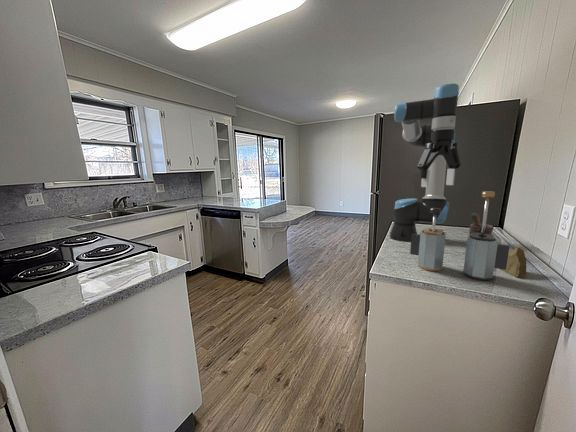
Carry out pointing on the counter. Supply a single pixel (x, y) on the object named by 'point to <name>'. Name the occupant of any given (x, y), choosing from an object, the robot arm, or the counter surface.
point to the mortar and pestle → (479, 226)
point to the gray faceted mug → (484, 256)
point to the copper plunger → (434, 216)
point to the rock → (516, 263)
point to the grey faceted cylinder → (429, 249)
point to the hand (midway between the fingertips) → (437, 186)
